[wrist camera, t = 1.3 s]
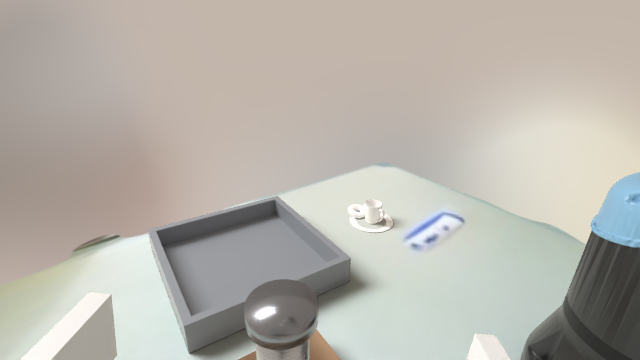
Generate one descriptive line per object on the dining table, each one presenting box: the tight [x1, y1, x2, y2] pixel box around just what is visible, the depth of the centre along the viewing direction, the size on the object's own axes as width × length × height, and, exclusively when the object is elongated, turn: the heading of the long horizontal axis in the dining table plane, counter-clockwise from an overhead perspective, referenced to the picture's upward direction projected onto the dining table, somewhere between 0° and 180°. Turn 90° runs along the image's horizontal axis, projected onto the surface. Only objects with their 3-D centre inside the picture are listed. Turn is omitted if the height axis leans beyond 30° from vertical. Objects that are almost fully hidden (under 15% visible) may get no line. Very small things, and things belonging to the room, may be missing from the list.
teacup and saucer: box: [348, 200, 393, 233], centre depth 64 cm, size 9×8×4 cm
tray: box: [148, 196, 351, 353], centre depth 51 cm, size 22×22×4 cm
